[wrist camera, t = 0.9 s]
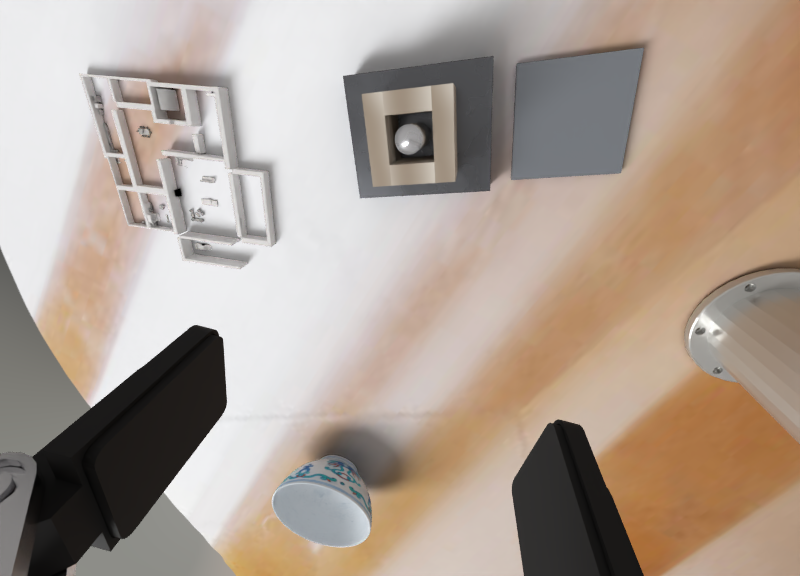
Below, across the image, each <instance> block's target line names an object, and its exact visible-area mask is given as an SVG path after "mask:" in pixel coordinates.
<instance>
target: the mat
mask: <svg viewBox="0 0 800 576" xmlns="http://www.w3.org/2000/svg"><path fill="white" fill-rule="evenodd" d="M643 50H644V48H637V49H629V50H621V51H613V52H606V53H598V54H590V55H582V56H574V57H566V58H558V59H550V60H542V61H534V62H527V63H519V64H517V67H516V87H515V108H514V128H513V149H512V169H511V180H519V179H535V178H551V177H567V176H584V175H600V174H616V173H621V170H622V165H623V160H624V154H625V149H626V143H627V138H628V132H629V127H630V121H631V116H632V110H633V105H634V99H635V94H636V88H637V83H638V77H639V72H640V67H641V61H642V56H643Z"/></svg>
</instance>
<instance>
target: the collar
mask: <svg viewBox="0 0 800 576" xmlns="http://www.w3.org/2000/svg"><path fill="white" fill-rule="evenodd" d="M362 101H363V110H364V118H365V126H366V134H367V142H368V150H369V159H370V167H371V175H372V183H373V187H380V186H396V185H412V184H428V183H444V182H455V181H456V176H457V172H458V171H457V112H456V87H455V85H454V83H450V84H441V85H433V86H425V87H416V88H408V89H400V90H391V91H383V92H375V93H366V94H362ZM424 112H432V122H433V144H434V155H433V156H420V157H408V158H401V152H400V151H399V150H398V149H397V147H396V144H395V135H396V132H397V130H398V129H399V126H398V115H405V114H414V113H424Z"/></svg>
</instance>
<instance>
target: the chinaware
mask: <svg viewBox="0 0 800 576" xmlns="http://www.w3.org/2000/svg"><path fill="white" fill-rule="evenodd" d="M272 507H273V510H274V512H275V514H276V516H277V517H278V518H279V520H280V521H281V522H282V523H283V524H284V525H285V526H286V527H287V528H289V529H290V530H291V531H293V532H294V533H296V534H297V535H299V536H301V537H303V538H305V539H307V540H310V541H312V542H315V543H318V544H321V545H326V546H331V547H350V546H355V545H358V544H360V543H362V542H363V541H365V540H366V539H367V537H368V536H369V534H370V531H371V522H372V510H371V501H370V497H369V493H368V490H367V488H366V486H365V484H364V482H363V480H362V479H361V477H360V476H359V475H358V471H357V468H356V467H355V465H354V464H353V463H352V462H351V461H349V460H348V459H346V458H344V457H341V456H337V455H328V456H324V457H323V458H321V459H320V460H315V461H312V462H309V463H306V464H304V465H302V466H301V467H299V468H297V469H296V470H295V471H293V472H292V473H291V474H290V475H289V476H288V477H287V478H286V479H285V480H284V481H283V482H282V483H281V484H280V486H279V487H278V488H277V490H276V491H275V493H274V495H273V497H272Z"/></svg>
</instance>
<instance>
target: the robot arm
mask: <svg viewBox="0 0 800 576" xmlns="http://www.w3.org/2000/svg"><path fill="white" fill-rule="evenodd" d="M684 341H685V348H686V350H687V352H688V354H689V356H690V357H691V358H692V360H693V361H694V362H695V363H696V364H697V365H698V366H699V367H700V368H701V369H702V370H703V371H705V372H706V373H708V374H710V375H711V376H714V377H717V378H719V379H722V380H726V381H731V382H737V383H739V384H740V385H741V386H742V387H743V388H744V389H745V390H746V391H747V392H748V393H749V394H750V395H751V396H752V397H753V398H754V399H755V400H756V401H757V402H758V403H759V404H760V405H761V406H762V407H763V408H764V409H765V410H766V411H767V412H768V413H769V414H770V415H771V416H772V417H773V418H774V419H775V420H776V421H777V422H778V423H779V424H780V425H781V426H782V427H783V428H784V429H785V430H786V431H787V432H788V433H789V434H790V435H791V436H792V437H793V438H794V439H795V440H796V441H797V442H798V443H799V444H800V269H795V268H777V269H771V270H764V271H759V272H755V273H752V274H748V275H745V276H742V277H740V278H738V279H735V280H733V281H731V282H729V283H727V284H725V285H724V286H722V287H720V288H718V289H717V290H715V291H714V292H713V293H711V294H710V295H709V296H708V297H706V298H705V299H704V300H703V301H702V302H701V303H700V304H699V305H698V306H697V308H696V309H695V310H694V312H693V313H692V315H691V316H690V318H689V320H688V323H687V325H686V328H685V334H684ZM226 405H227V396H226V380H225V363H224V347H223V338H222V337H220V336H219V334H218V332H217V330H214V329H210V328H206V327H202V326H198V325H194V326H192V327H190V328H189V329H188V330H187V331H186V332H184V333H183V334H182V335H181V336H179V337H178V338H177V339H176V340H175V341H173V342H172V343H171V344H170V345H169V346H167V347H166V348H165V349H164V350H163V351H161V352H160V353H159V354H158V355H157V356H155V357H154V358H153V359H152V360H150V361H149V362H148V363H147V364H146V365H144V366H143V367H142V368H140V369H138V370H137V371H136V372H135V373H134V374H132V375H131V376H130V377H129V378H127V379H126V380H125V381H124V382H123V383H121V384H120V385H119V386H118V387H117V388H115V389H114V390H113V391H112V392H110V393H109V394H108V395H107V396H106V397H104V398H103V399H102V400H101V401H100V402H98V403H97V404H96V405H95V406H93V407H92V408H91V409H90V410H89V411H87V412H86V413H85V414H84V415H83V416H81V417H80V418H79V419H78V420H77V421H75V422H74V423H73V424H72V425H70V426H69V427H68V428H67V429H66V430H64V431H63V432H62V433H61V434H60V435H58V436H57V437H56V438H55V439H53V440H52V441H51V442H50V443H49V444H47V445H46V446H45V447H44V448H43V449H41V450H40V451H39V452H38V453H37V454H36V455H34V456H33V457H32V456H30V455H27V454H25V453H21V452H6V453H0V576H75V571H76V563H77V562H78V561H79V559H80V558H81V557H82V556H83V555H84V553H85V552H86V551H87V550H88V549H89V547H90V546H93V547H97V548H100V549H103V550H107V551H111V550H112V549H113V548H114V546H115V545H116V544H117V543H118V541H119V540H120V539H125V538H127V537H128V536H129V535H130V534H132V532H133V531H134V530H135V529H136V527H137V526H138V525H139V524H140V522H141V521H142V519H143V518H144V517H145V516H146V514H147V513H148V512H149V510H150V509H151V508H152V506H153V505H154V504H155V503H156V501H157V500H158V499H159V497H160V496H161V495H162V493H163V492H164V491H165V489H166V488H167V487H168V485H169V484H170V483H171V481H172V480H173V479H174V478H175V476H176V475H177V474H178V472H179V471H180V470H181V468H182V467H183V466H184V464H185V463H186V462H187V460H188V459H189V458H190V457H191V455H192V454H193V453H194V451H195V450H196V449H197V447H198V446H199V445H200V443H201V442H202V441H203V439H204V438H205V437H206V435H207V434H208V433H209V432H210V430H211V429H212V428H213V426H214V425H215V424H216V422H217V421H218V420H219V418H220V417H221V416H222V414H223V413H224V411H225V408H226ZM512 496H513V503H514V510H515V516H516V523H517V530H518V537H519V544H520V551H521V558H522V565H523V571H524V576H644V575H643V573H642V570H641V568H640V565H639V563H638V560H637V558H636V555H635V553H634V550H633V548H632V545H631V543H630V540H629V538H628V535H627V533H626V530H625V528H624V525H623V523H622V520H621V518H620V515H619V513H618V510H617V508H616V505H615V503H614V500H613V498H612V495H611V494H610V492H609V490H608V488H607V487H606V485H605V482H604V480H603V477H602V475H601V472H600V470H599V467H598V465H597V462H596V460H595V457H594V455H593V452H592V449H591V447H590V444H589V442H588V439H587V437H586V434H585V432H584V430H583V428H582V427H581V426H580V425H578V424H574V423H570V422H566V421H563V420H556V421H555V422H554V423H549V424H548V425H547V426H546V428H545V429H544V431H543V433H542V434H541V436H540V438H539V439H538V441H537V442H536V444H535V446H534V447H533V449H532V451H531V452H530V454H529V455H528V457H527V459H526V460H525V462H524V464H523V465H522V467H521V468H520V470H519V472H518V473H517V475H516V476H515V478H514V480H513V484H512Z"/></svg>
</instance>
